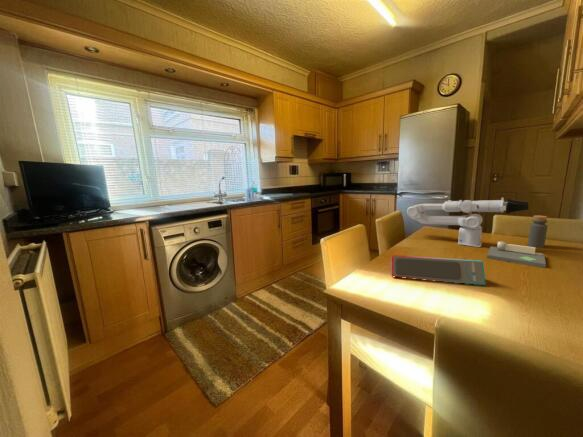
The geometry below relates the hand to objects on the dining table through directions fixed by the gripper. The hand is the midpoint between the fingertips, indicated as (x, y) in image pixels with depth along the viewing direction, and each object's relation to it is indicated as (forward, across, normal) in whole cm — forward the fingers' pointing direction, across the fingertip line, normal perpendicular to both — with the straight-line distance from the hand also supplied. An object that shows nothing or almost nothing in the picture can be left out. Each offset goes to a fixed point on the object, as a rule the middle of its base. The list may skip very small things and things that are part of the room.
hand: (528, 205), depth 109 cm
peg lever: (-3, -8, +20) cm, 21 cm away
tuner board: (-4, -12, +21) cm, 25 cm away
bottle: (+3, +14, +22) cm, 26 cm away
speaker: (-26, -53, +20) cm, 62 cm away
